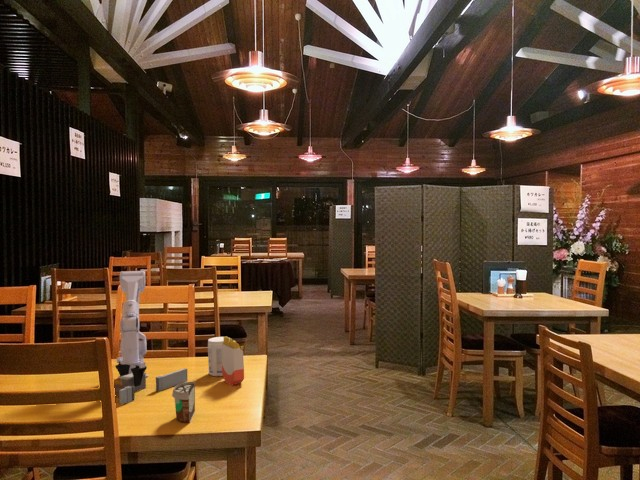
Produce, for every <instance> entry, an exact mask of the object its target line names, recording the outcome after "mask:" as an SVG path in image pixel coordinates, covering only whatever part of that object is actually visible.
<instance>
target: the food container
mask: <svg viewBox="0 0 640 480" xmlns="http://www.w3.org/2000/svg"><path fill="white" fill-rule="evenodd" d="M171 397H172V398H174V405H175V406H174V407H175V418H176V421H177V422H178V423H182V424H190V423H191V421H192V419H193V417H194V415H195V412H196V382H195V381H193V380H192V381H186V382H183V383H181V384H178V385H175V386H173V390H172V393H171Z"/></svg>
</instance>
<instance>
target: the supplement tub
mask: <svg viewBox="0 0 640 480" xmlns="http://www.w3.org/2000/svg"><path fill="white" fill-rule="evenodd" d="M224 337H225V336H216V337H211V338H208V340H207V355H208V357H207V358H208V359H207V361H208V362H207V363H208V375H210V376H212V377H223V375H222V344H223V341H224ZM230 339H231V337H229V341H230Z"/></svg>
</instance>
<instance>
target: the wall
mask: <svg viewBox="0 0 640 480" xmlns="http://www.w3.org/2000/svg"><path fill="white" fill-rule="evenodd" d="M185 382H188V368H187V367H186V368H182V369H179V370H176V371H173V372H170V373H166V374H163V375H158V376H156V377H155V391H156V392H162V391H163V390H166V389H170V388H172V387H175V386H177V385H179V384H181V383H185ZM118 398H119V405H121V406H122V405H125V404H128V403H132V402H133V401H132V387H130V386H127V387H124V389H121V390H119V397H118Z"/></svg>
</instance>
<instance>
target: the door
mask: <svg viewBox="0 0 640 480" xmlns="http://www.w3.org/2000/svg"><path fill="white" fill-rule="evenodd" d="M113 383H114V388H115V395H116V397H115V398H119V390H121V389H124V387H127V386H126V385H121V383H120V384H119V383H117V382H116V383H115V382H113ZM130 387H132V402H133V401H135V392H134V386H130Z"/></svg>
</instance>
